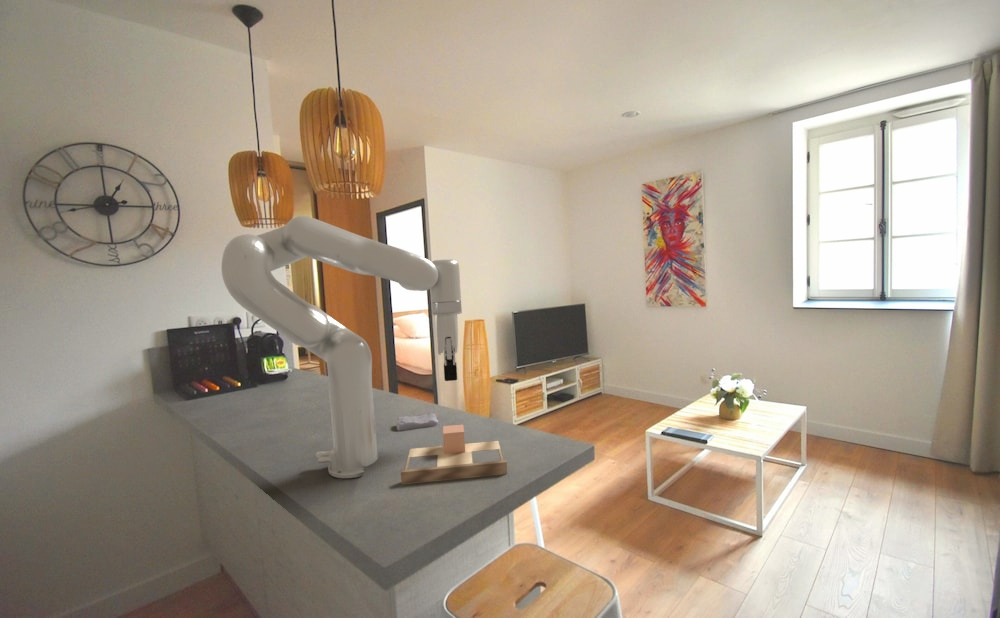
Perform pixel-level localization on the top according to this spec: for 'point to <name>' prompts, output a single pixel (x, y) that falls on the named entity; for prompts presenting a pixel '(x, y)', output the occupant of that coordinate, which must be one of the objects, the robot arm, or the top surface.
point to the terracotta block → (453, 439)
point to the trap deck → (453, 464)
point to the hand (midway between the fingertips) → (450, 378)
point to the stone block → (416, 421)
